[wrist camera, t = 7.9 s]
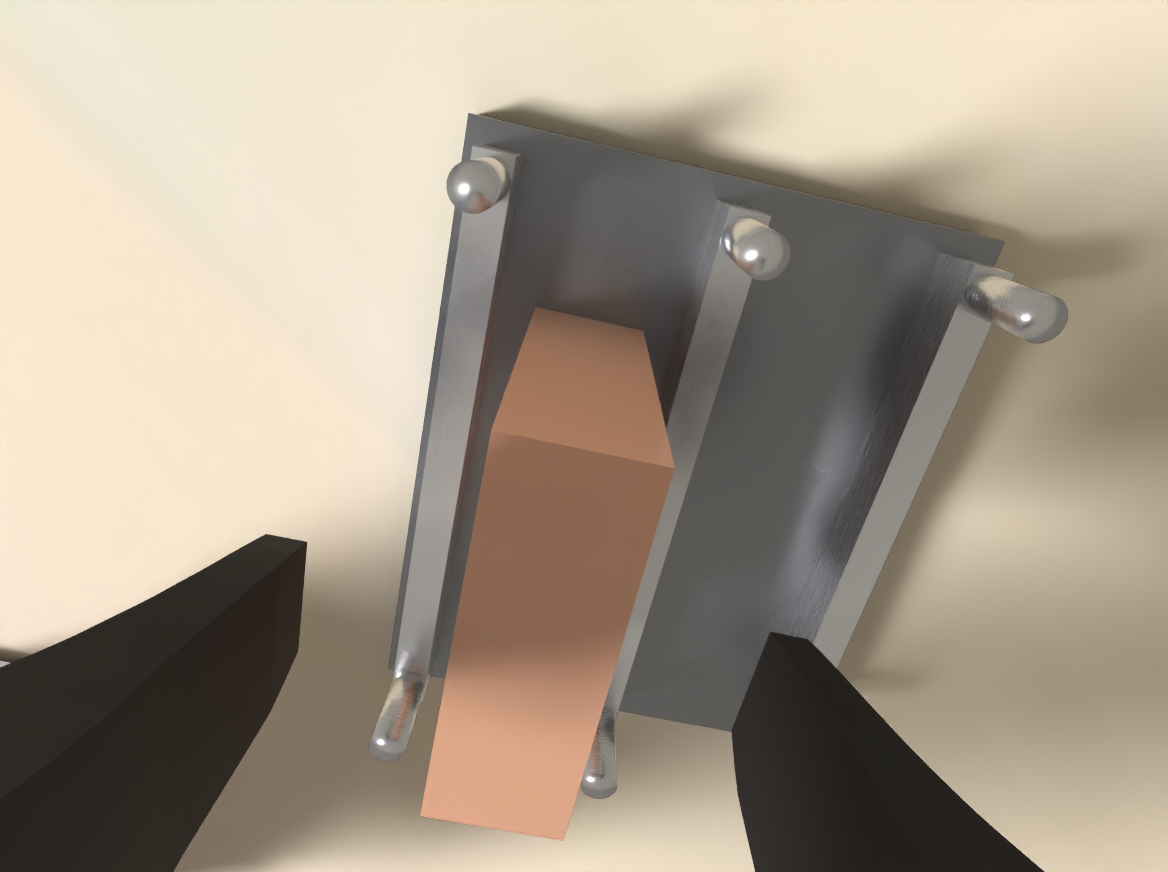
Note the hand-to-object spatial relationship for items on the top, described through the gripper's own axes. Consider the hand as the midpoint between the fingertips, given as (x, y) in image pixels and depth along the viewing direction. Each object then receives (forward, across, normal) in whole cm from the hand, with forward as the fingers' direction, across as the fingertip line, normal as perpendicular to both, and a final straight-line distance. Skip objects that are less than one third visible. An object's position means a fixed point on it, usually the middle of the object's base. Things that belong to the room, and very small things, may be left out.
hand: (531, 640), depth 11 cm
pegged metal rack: (+7, -2, 0) cm, 8 cm away
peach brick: (+6, 0, 0) cm, 6 cm away
